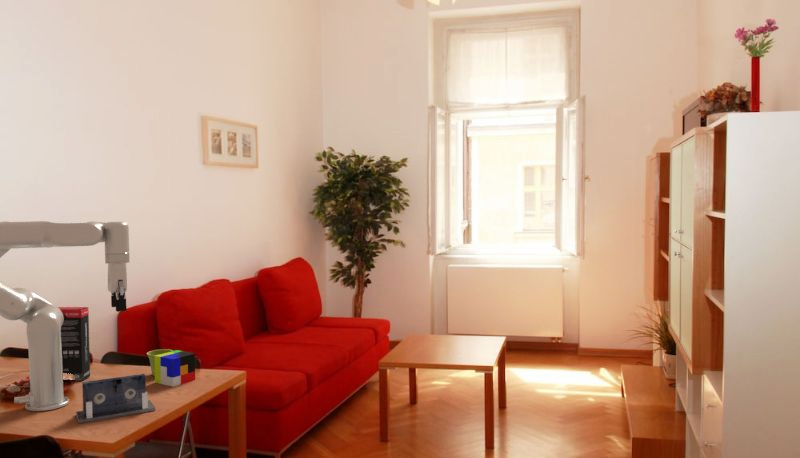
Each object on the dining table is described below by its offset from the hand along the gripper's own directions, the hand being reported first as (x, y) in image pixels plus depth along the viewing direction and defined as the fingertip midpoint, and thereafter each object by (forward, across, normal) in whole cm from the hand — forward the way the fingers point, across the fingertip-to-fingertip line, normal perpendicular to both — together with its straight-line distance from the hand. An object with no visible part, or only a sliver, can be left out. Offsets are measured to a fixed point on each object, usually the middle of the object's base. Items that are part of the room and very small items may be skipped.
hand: (118, 308), depth 221 cm
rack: (+30, +16, -4) cm, 34 cm away
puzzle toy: (+31, -10, +20) cm, 38 cm away
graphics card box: (+31, -35, -15) cm, 48 cm away
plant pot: (+31, -22, +17) cm, 42 cm away
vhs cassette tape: (+30, +16, -4) cm, 34 cm away
